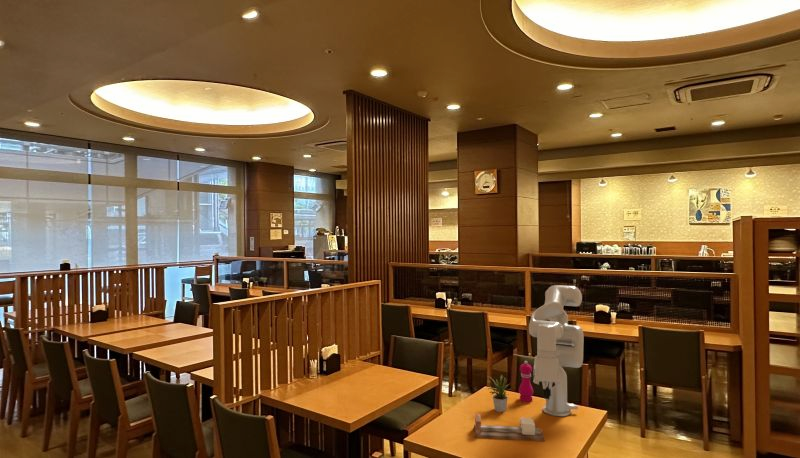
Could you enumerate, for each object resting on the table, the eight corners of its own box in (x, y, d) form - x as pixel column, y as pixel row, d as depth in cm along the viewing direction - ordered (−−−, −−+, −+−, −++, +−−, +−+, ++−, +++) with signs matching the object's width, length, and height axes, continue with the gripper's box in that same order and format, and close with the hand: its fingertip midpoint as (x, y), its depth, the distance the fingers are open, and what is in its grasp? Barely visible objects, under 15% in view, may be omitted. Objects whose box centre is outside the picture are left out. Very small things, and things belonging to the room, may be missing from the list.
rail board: (539, 430, 195) (539, 416, 195) (544, 441, 185) (544, 425, 185) (474, 427, 198) (473, 413, 198) (475, 437, 188) (475, 422, 188)
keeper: (532, 428, 194) (531, 417, 194) (534, 435, 187) (534, 424, 187) (520, 427, 194) (520, 417, 194) (522, 434, 187) (522, 424, 187)
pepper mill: (534, 403, 227) (533, 363, 228) (519, 402, 229) (519, 362, 229) (532, 398, 234) (532, 359, 235) (518, 397, 236) (518, 358, 236)
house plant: (484, 402, 228) (484, 370, 228) (512, 404, 225) (512, 371, 225) (484, 413, 214) (484, 378, 214) (514, 415, 211) (514, 380, 211)
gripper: (562, 352, 193) (562, 395, 192) (526, 351, 195) (526, 394, 194) (567, 356, 186) (567, 402, 185) (529, 355, 187) (529, 400, 187)
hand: (546, 397), depth 190 cm, fingers closed
